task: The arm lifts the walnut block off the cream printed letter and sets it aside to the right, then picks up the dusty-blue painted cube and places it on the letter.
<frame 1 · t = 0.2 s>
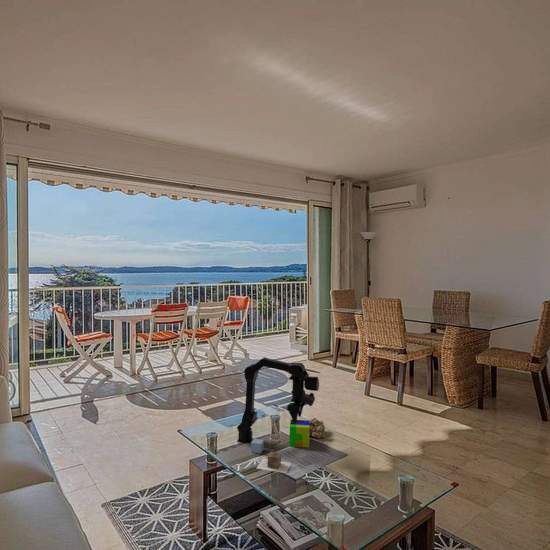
hand: (297, 419, 204), 15 cm above the table, fingers open, 9 cm apart
walnut block: (274, 465, 185), resting on letter
mineral formation: (315, 434, 222), on the table
puzzle toy: (299, 443, 211), on the table
letter: (274, 465, 185), on the table
blue cube: (257, 451, 200), on the table
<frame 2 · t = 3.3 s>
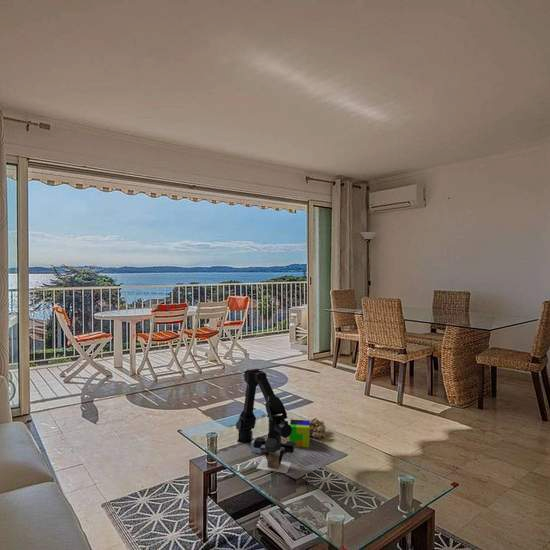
hand: (274, 463, 185), 1 cm above the table, fingers closed on walnut block, 5 cm apart
walnut block: (274, 465, 185), resting on letter, touching gripper
everything else where it was.
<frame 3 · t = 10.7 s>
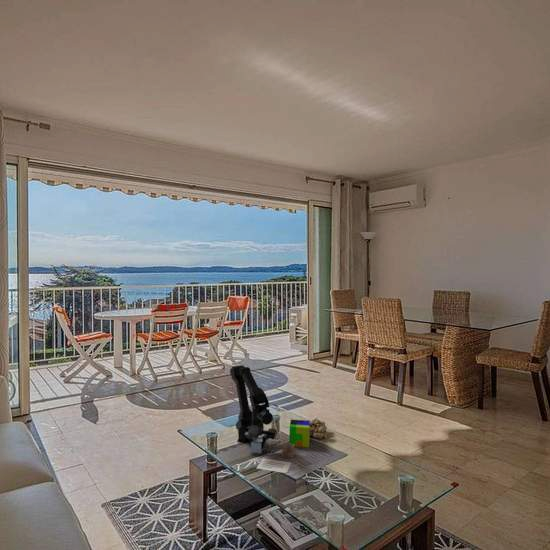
hand: (257, 448, 200), 1 cm above the table, fingers closed on blue cube, 5 cm apart
walnut block: (288, 455, 196), on the table
blue cube: (257, 451, 200), on the table, touching gripper
when the fingers open (2 cm above the table, at t = 14.6 s): blue cube drops 1 cm, resting on letter.
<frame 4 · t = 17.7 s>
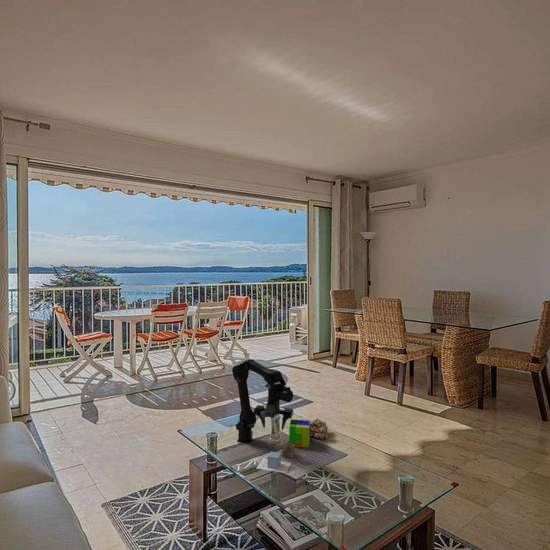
hand: (273, 428, 198), 12 cm above the table, fingers open, 9 cm apart
blue cube: (274, 465, 185), resting on letter
at the end: blue cube inside the target area on the letter (0.0 cm from its centre), point 0.2 cm above the letter's base; blue cube tilted 0°; walnut block inside the target area (0.5 cm from its centre), on the table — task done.
